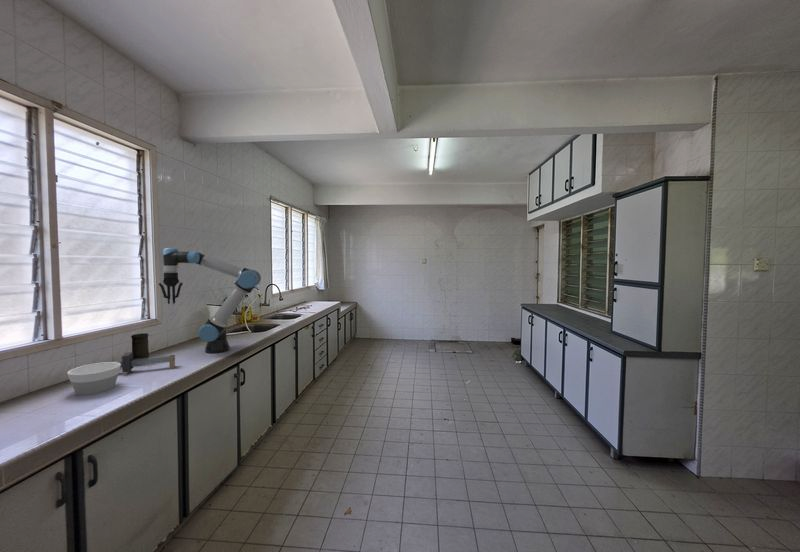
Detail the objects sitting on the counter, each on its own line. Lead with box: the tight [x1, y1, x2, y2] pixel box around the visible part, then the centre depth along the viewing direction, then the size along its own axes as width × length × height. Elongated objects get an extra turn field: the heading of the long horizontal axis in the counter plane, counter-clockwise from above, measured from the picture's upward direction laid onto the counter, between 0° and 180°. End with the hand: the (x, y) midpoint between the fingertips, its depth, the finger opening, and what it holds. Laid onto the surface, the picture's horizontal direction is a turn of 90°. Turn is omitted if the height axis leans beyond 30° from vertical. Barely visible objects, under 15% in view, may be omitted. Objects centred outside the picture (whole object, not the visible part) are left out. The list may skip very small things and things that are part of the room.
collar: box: [121, 351, 134, 373], centre depth 182 cm, size 3×8×9 cm, turn 27°
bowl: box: [67, 361, 121, 396], centre depth 159 cm, size 19×19×11 cm
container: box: [130, 333, 150, 367], centre depth 198 cm, size 9×9×18 cm
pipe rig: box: [109, 354, 176, 376], centre depth 185 cm, size 30×9×7 cm, turn 117°
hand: (171, 308), depth 208 cm, fingers closed
